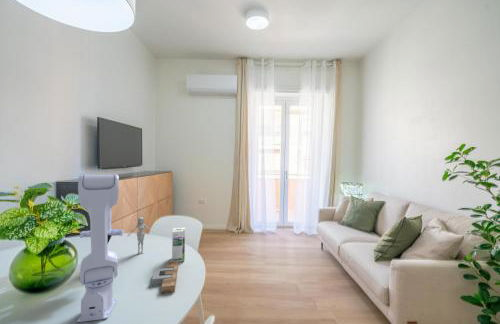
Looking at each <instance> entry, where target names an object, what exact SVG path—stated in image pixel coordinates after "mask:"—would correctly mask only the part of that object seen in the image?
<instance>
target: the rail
mask: <svg viewBox="0 0 500 324" xmlns="http://www.w3.org/2000/svg"><path fill="white" fill-rule="evenodd" d="M165 268H173V271H165V275H172V278H168V279H163V283H162V285H161V294H169V293H175V292H176V286H177V285H176V284H177V278H178V273H179V272H178V271H179V262H178V261H172V260H171V261H167V264H166V266H165Z"/></svg>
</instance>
